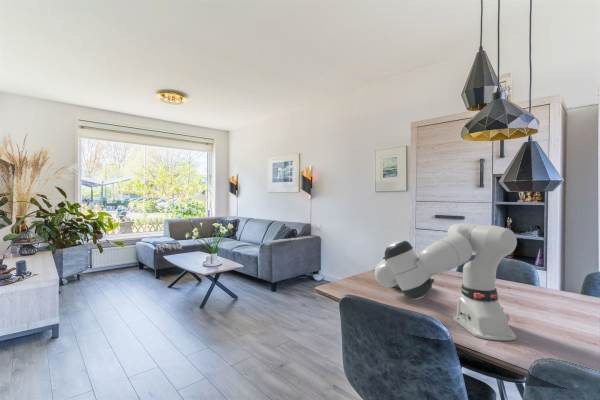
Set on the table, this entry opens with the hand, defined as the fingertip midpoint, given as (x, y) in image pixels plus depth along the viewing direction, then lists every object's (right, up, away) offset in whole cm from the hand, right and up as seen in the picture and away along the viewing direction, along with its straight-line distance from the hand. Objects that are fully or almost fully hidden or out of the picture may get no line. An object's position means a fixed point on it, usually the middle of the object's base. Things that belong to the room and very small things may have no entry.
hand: (397, 265), depth 171 cm
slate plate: (0, -10, -1) cm, 10 cm away
